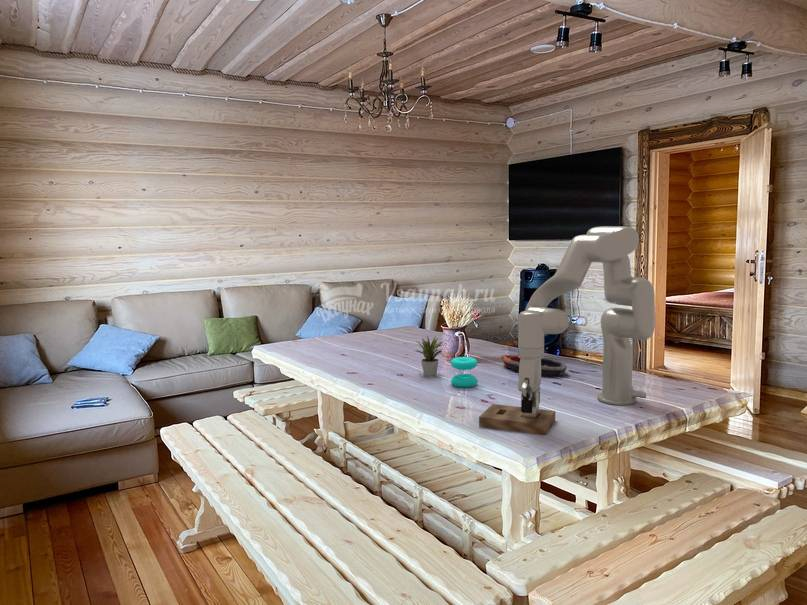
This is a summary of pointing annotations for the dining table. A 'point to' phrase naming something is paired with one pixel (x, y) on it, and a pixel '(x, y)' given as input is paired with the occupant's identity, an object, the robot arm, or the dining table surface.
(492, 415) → the walnut bore plate
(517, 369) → the dish
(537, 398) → the steel square peg
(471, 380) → the donuts
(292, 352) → the dining table surface
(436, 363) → the house plant
